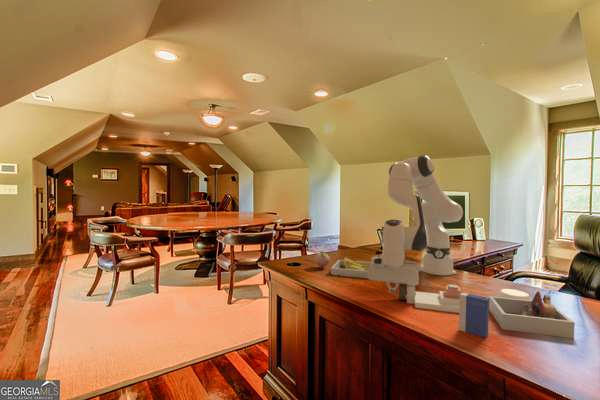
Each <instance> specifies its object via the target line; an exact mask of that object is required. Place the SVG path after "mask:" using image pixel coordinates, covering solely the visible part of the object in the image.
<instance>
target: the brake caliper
mask: <svg viewBox="0 0 600 400" xmlns="http://www.w3.org/2000/svg"><path fill="white" fill-rule="evenodd" d="M541 295H542V294H541V292H540V291H538V290H537V291H536V293H535V294H534V297H533V298H532V300H531V301H532V302H531V304H532V309H528V307H527V304H525V305H524V306H523V309H522V311H521V314H520V315H524V316H533V317H541V318H550V319H556V314H557V312H556V308H557V307H556V306H555V305H553V304H552V302H551V295H546V294H543V298H542V296H541ZM543 302H544V303H543ZM535 303H536V304H537V305H536V304H535ZM555 307H556V308H555Z"/></svg>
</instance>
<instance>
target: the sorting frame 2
mask: <svg viewBox="0 0 600 400" xmlns="http://www.w3.org/2000/svg"><path fill="white" fill-rule="evenodd" d="M488 298H489V313H490V314H491V315H492V317H493V318H494V319H495V321H496V322H497V324H498V325H499V327H500V328H501V329H502V330H505V331H506V330H507V331H512V332H513V331H514V332H521V333H530V334H537V335H545V336H550V337H551V336H552V337H559V338H560V337H561V338H567V339H575V326H576V325H575V323H576V322H575V321H573V320H572V319H571V318H569V316H567V315H566V314H565V313H563V312H562V311H561V310H560V309H558V308H557V307H556V306H555V308H556V312H557V314H556V319H550V318H541V317H533V316H524V315H521V311H522V309H523V306H524V305H525V304H527V307H528V309H532V304H531V302H532V300H530V299H529V300H521V299H511V298H502V297H500V296H493V295H492V296H491V295H490V296H489V295H488ZM542 302H543V303H544V301H542ZM535 304H536V303H535ZM536 305H537V304H536Z"/></svg>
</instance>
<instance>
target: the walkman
mask: <svg viewBox="0 0 600 400" xmlns="http://www.w3.org/2000/svg"><path fill="white" fill-rule="evenodd" d="M461 293H462V294H460V301H459V305H460V306H459V313H458V314H459V315H458V331H462V332H463V333H469V334H471V335H475V336H478V337H481V338H486V339H487V337H488V336H489V321H490V317H489V315H490V310H489V297H486V296H485V295H481V296H480V295H475V294H471V293H466V292H461Z"/></svg>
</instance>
